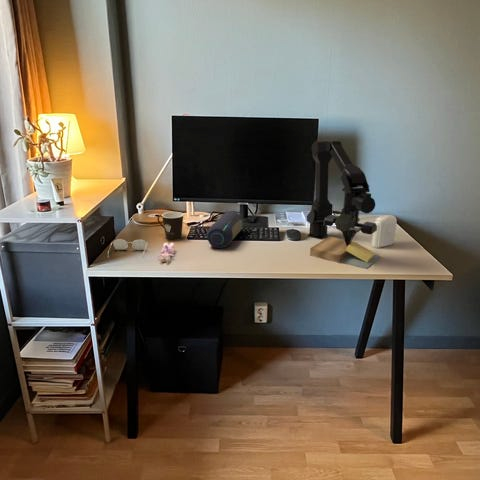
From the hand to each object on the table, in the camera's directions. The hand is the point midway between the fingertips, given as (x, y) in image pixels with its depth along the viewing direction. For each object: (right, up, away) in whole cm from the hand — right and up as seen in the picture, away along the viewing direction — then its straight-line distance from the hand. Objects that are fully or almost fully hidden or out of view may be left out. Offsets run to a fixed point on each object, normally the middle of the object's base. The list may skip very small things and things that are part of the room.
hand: (347, 245), depth 174 cm
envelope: (+12, +10, +40) cm, 43 cm away
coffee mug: (-69, +3, +20) cm, 72 cm away
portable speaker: (-46, +2, +18) cm, 49 cm away
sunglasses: (-83, -4, +3) cm, 83 cm away
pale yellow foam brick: (+4, -3, -1) cm, 5 cm away
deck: (-4, -3, +5) cm, 7 cm away
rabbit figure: (-68, -4, 0) cm, 68 cm away
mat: (+5, -5, -2) cm, 7 cm away
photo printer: (+17, 0, +13) cm, 21 cm away
